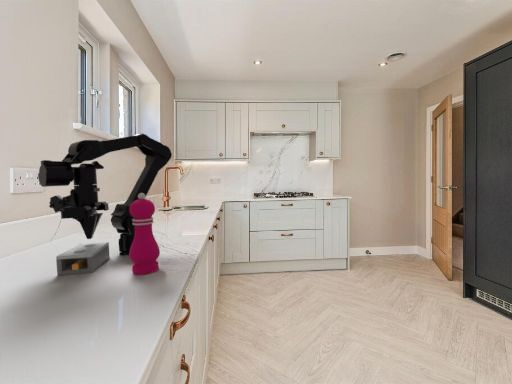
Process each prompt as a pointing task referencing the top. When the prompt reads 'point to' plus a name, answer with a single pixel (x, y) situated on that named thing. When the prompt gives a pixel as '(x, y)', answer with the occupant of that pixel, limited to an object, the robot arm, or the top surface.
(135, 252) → the pepper mill
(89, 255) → the lid
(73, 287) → the top surface
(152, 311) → the top surface
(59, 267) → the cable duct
